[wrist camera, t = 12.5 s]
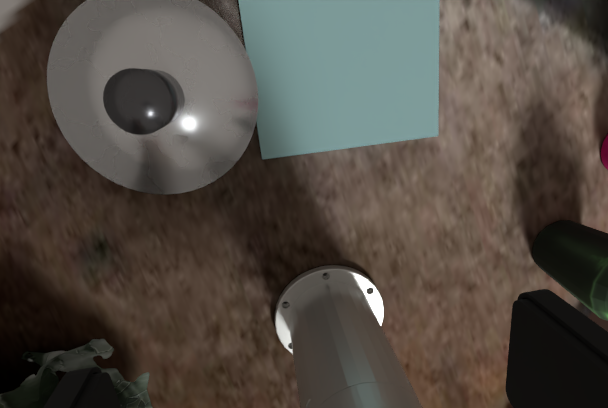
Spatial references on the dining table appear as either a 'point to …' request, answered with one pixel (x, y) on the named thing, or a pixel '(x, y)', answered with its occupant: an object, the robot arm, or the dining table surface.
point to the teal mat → (342, 72)
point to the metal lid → (152, 92)
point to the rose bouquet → (37, 389)
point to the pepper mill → (605, 152)
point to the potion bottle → (576, 262)
